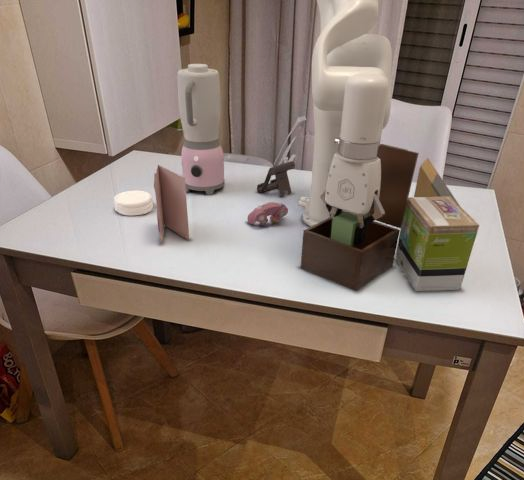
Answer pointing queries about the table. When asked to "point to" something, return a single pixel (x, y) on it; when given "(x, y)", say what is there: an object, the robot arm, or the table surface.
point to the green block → (344, 228)
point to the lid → (395, 182)
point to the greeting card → (171, 202)
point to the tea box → (435, 243)
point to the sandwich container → (431, 182)
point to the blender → (201, 128)
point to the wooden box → (349, 254)
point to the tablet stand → (277, 179)
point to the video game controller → (267, 213)
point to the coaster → (133, 203)
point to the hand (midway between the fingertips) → (347, 238)
